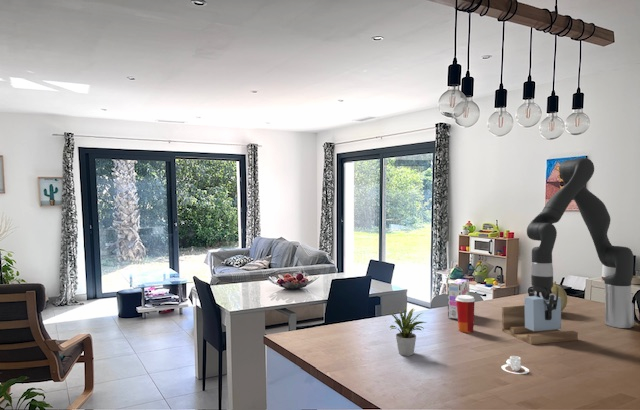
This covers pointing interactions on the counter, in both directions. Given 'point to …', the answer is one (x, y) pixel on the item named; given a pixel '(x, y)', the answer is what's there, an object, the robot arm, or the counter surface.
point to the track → (516, 327)
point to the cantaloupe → (560, 294)
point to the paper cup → (465, 313)
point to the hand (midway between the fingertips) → (542, 317)
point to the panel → (541, 314)
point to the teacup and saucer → (514, 365)
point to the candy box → (454, 290)
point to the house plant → (406, 332)
